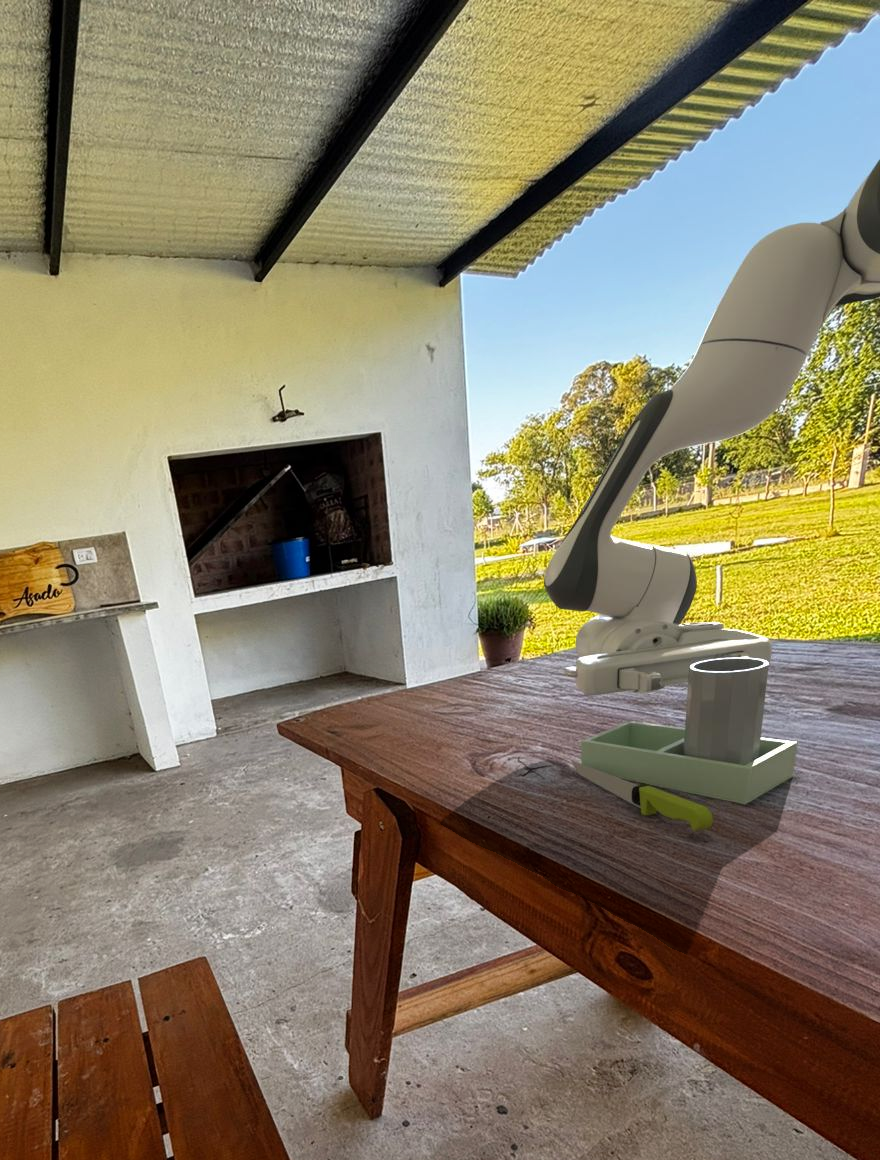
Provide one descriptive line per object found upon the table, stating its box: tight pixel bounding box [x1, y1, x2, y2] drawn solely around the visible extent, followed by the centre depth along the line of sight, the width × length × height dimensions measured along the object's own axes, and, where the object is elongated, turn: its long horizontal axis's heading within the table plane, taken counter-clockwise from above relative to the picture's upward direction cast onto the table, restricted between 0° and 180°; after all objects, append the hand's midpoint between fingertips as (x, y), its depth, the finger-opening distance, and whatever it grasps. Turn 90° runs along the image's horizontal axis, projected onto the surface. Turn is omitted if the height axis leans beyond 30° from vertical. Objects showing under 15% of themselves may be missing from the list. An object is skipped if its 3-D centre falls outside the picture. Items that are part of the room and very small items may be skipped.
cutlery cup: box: [683, 658, 770, 765], centre depth 63 cm, size 6×6×12 cm
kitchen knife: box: [571, 760, 714, 832], centre depth 64 cm, size 22×1×3 cm, turn 5°
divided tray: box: [580, 720, 798, 805], centre depth 68 cm, size 9×18×4 cm, turn 30°
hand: (700, 677), depth 66 cm, fingers open, 8 cm apart
